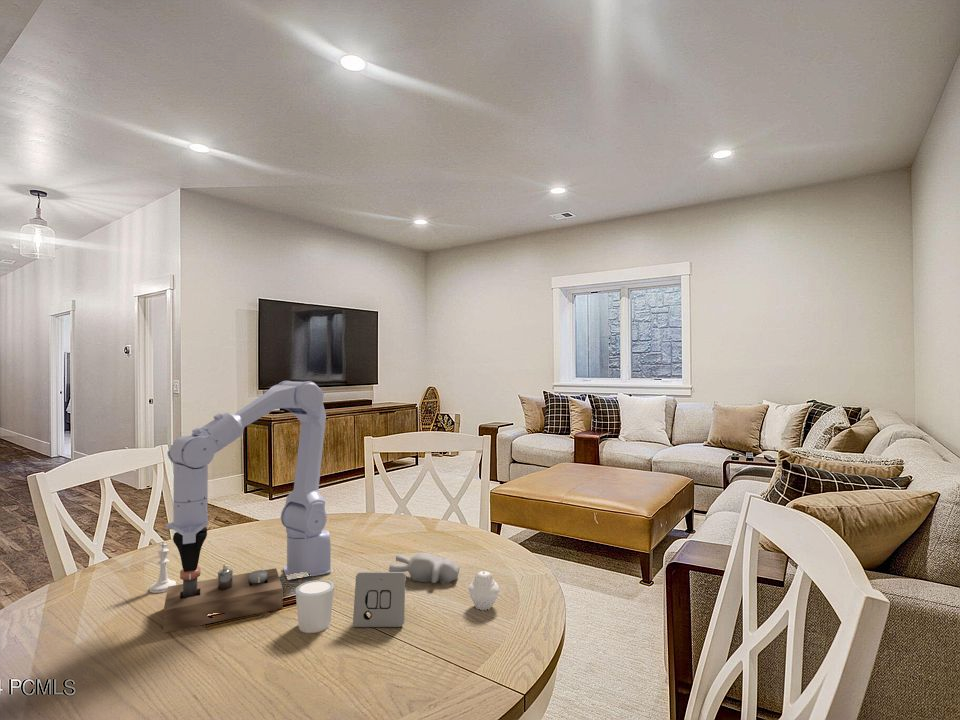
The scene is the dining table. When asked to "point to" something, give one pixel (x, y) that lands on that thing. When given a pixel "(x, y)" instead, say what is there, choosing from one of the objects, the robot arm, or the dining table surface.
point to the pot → (225, 578)
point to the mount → (221, 601)
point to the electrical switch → (379, 599)
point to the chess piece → (162, 572)
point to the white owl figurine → (483, 590)
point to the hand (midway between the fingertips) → (190, 569)
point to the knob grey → (258, 577)
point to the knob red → (190, 582)
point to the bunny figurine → (427, 568)
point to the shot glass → (314, 605)
